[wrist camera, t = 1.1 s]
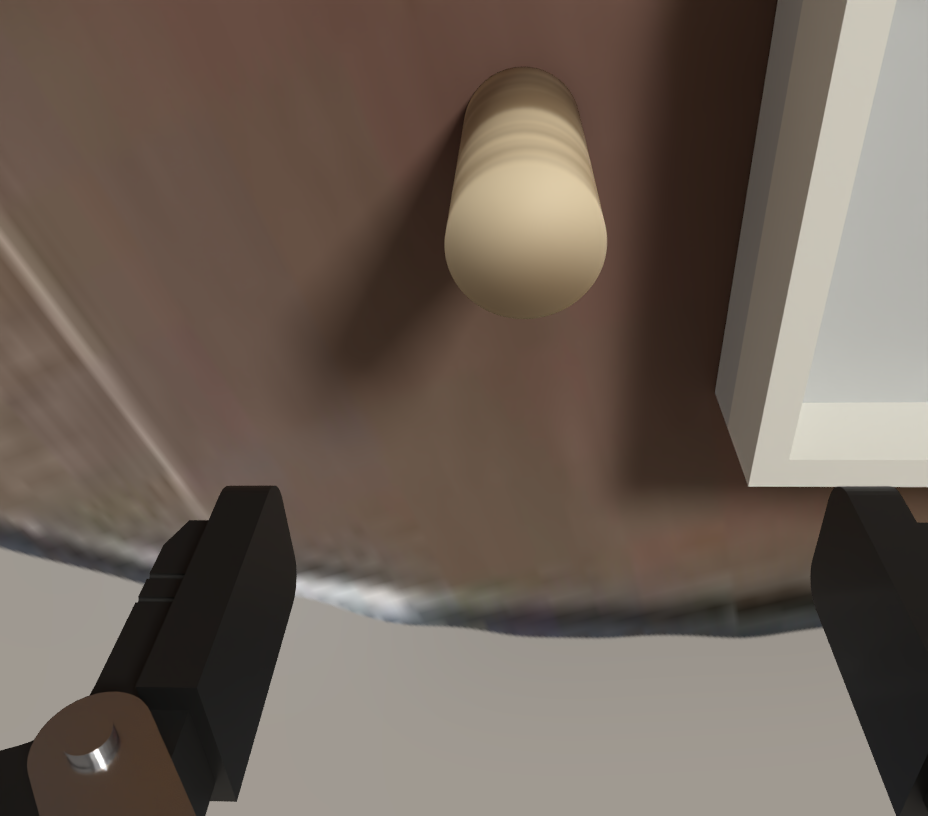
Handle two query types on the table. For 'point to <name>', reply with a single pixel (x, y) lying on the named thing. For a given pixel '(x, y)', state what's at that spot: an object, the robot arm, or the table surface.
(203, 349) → the table surface
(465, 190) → the peg
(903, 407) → the tray
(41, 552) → the table surface
